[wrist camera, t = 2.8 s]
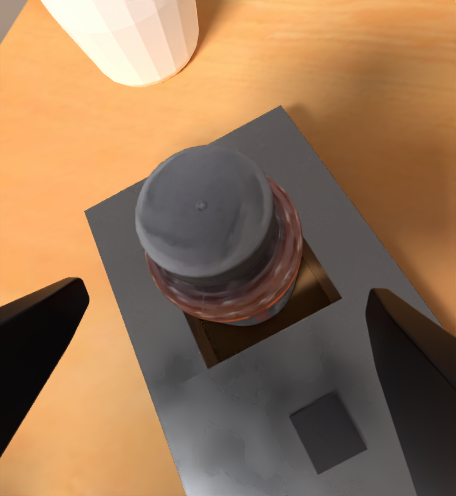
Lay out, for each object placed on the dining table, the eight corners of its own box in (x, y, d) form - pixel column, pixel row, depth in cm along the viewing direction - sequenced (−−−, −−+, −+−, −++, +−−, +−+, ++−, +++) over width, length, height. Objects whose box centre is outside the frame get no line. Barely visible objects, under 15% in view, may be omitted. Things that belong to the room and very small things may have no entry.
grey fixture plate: (575, 560, 13) (667, 631, 10) (293, 703, 13) (298, 816, 10) (280, 135, 21) (280, 102, 18) (110, 227, 21) (82, 209, 18)
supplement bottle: (291, 232, 19) (309, 102, 8) (296, 326, 17) (327, 318, 7) (202, 235, 20) (114, 123, 9) (198, 326, 18) (87, 317, 8)
